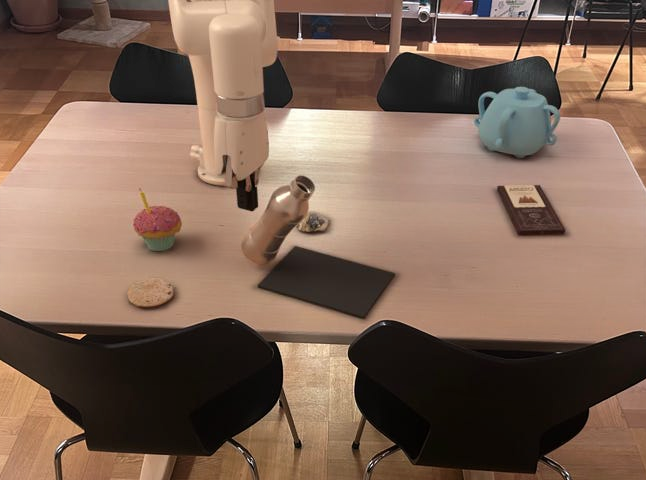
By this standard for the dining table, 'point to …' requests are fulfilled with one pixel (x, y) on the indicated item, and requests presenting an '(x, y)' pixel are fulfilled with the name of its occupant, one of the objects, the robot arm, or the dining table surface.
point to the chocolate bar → (530, 210)
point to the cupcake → (157, 225)
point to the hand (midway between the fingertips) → (248, 207)
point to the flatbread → (150, 292)
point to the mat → (327, 281)
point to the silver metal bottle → (278, 220)
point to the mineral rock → (313, 223)
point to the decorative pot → (516, 121)
